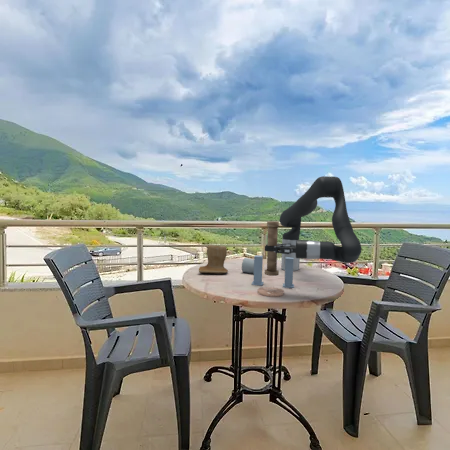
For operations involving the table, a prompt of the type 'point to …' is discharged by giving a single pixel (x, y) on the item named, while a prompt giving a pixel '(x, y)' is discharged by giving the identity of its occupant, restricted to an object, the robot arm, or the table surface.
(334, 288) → the table surface
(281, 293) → the disc
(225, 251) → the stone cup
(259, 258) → the blue pillar pair
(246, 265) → the ceramic mug
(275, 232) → the candlestick
